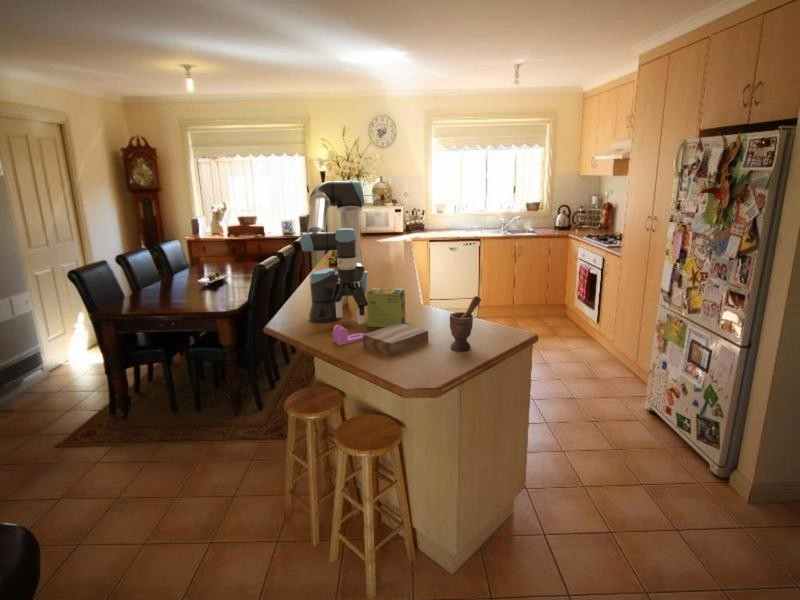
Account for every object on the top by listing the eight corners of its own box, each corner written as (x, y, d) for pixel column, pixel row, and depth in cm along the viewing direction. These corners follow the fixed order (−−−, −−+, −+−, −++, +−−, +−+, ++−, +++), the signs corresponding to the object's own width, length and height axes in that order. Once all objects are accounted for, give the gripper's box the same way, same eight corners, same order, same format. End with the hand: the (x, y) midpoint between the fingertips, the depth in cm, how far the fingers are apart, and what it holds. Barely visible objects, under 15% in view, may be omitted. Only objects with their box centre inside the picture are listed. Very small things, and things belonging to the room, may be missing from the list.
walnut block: (363, 346, 185) (362, 334, 184) (399, 334, 199) (399, 322, 198) (391, 356, 174) (391, 343, 173) (428, 342, 188) (428, 330, 187)
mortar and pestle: (468, 341, 188) (468, 292, 183) (483, 347, 181) (484, 296, 176) (445, 347, 182) (445, 297, 177) (460, 353, 175) (460, 301, 170)
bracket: (340, 345, 188) (338, 329, 186) (333, 342, 192) (332, 325, 191) (368, 339, 195) (367, 322, 193) (361, 335, 199) (361, 319, 198)
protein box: (401, 328, 207) (400, 293, 204) (367, 326, 211) (366, 292, 207) (406, 321, 217) (405, 288, 214) (373, 320, 220) (372, 287, 217)
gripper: (320, 266, 192) (324, 316, 197) (360, 272, 175) (363, 327, 180) (335, 263, 197) (338, 313, 202) (375, 269, 180) (377, 323, 185)
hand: (350, 320), depth 191 cm, fingers open, 13 cm apart
